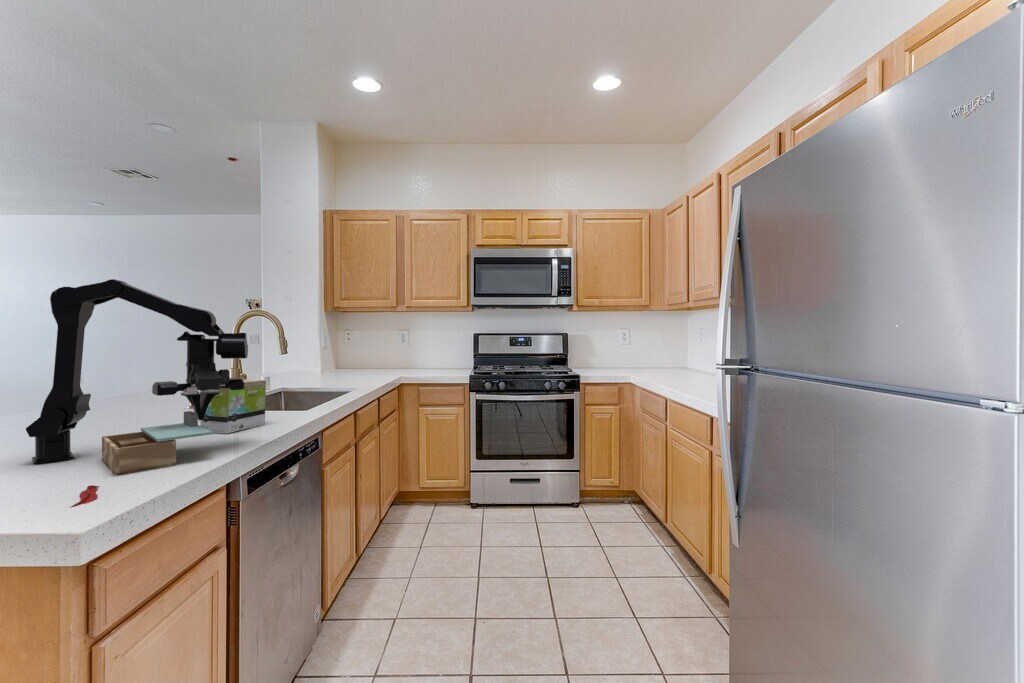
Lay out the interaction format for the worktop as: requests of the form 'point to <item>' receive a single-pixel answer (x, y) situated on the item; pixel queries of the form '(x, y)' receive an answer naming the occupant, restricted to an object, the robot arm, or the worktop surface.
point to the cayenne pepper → (88, 495)
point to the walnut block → (131, 442)
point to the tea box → (236, 408)
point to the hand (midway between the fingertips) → (200, 419)
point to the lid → (178, 429)
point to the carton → (137, 454)
